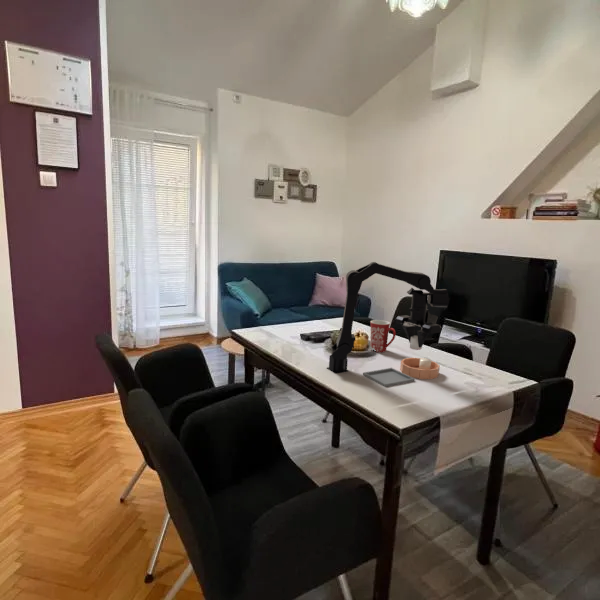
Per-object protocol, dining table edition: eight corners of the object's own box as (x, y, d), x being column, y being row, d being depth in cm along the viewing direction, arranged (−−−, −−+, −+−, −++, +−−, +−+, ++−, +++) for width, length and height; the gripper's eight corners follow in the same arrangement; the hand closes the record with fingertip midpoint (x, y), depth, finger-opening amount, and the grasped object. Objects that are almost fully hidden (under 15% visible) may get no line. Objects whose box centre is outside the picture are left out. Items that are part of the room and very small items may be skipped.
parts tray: (384, 388, 149) (385, 384, 149) (362, 376, 160) (362, 372, 160) (414, 382, 156) (414, 378, 156) (391, 371, 167) (391, 367, 167)
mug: (364, 349, 194) (366, 321, 192) (375, 346, 201) (377, 318, 198) (387, 356, 185) (389, 327, 183) (398, 352, 192) (400, 324, 189)
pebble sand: (424, 373, 164) (425, 362, 163) (416, 369, 168) (417, 359, 167) (432, 371, 166) (433, 360, 165) (424, 368, 170) (425, 357, 169)
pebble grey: (415, 350, 159) (416, 339, 158) (407, 347, 163) (408, 336, 162) (423, 349, 161) (424, 338, 160) (415, 345, 165) (416, 335, 164)
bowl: (419, 382, 156) (420, 372, 155) (393, 369, 168) (393, 360, 168) (446, 376, 163) (447, 367, 162) (419, 365, 175) (420, 356, 175)
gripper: (453, 309, 155) (449, 349, 158) (417, 300, 171) (414, 337, 174) (431, 311, 149) (428, 353, 152) (396, 302, 165) (393, 340, 168)
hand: (415, 345), depth 162 cm, fingers closed on pebble grey, 4 cm apart
